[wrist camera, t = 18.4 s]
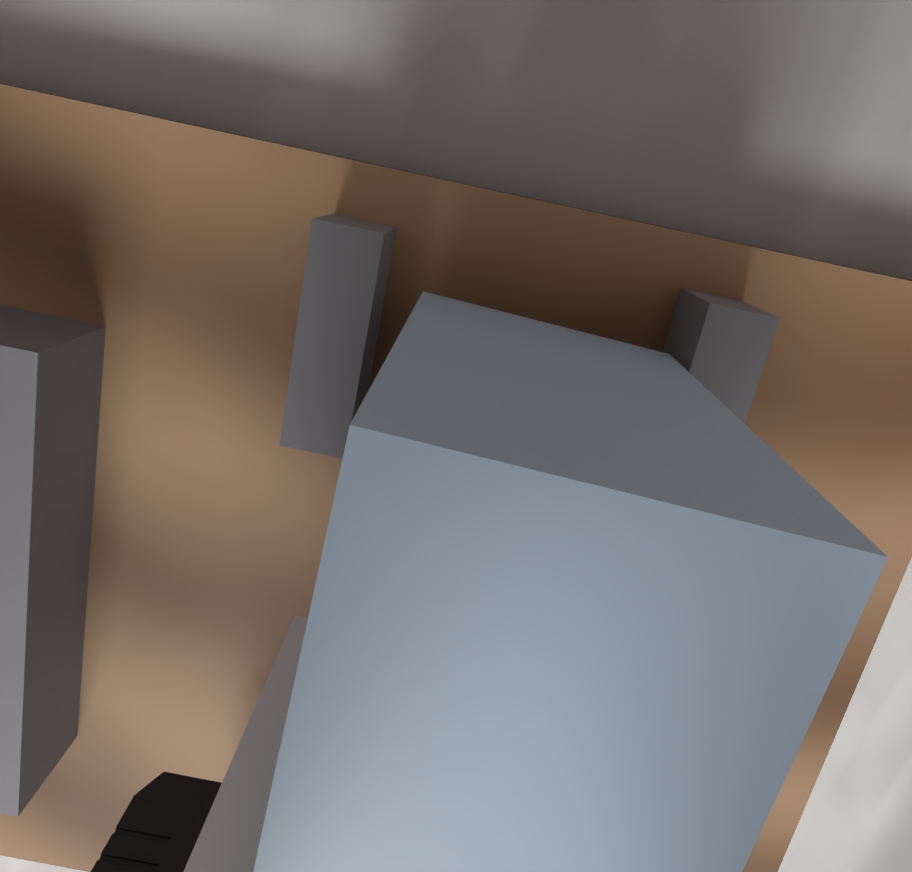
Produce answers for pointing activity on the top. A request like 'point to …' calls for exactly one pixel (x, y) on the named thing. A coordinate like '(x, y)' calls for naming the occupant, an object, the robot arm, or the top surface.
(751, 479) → the light blue rectangular block
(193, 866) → the robot arm
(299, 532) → the jig board
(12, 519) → the frame
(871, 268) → the top surface
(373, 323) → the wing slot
